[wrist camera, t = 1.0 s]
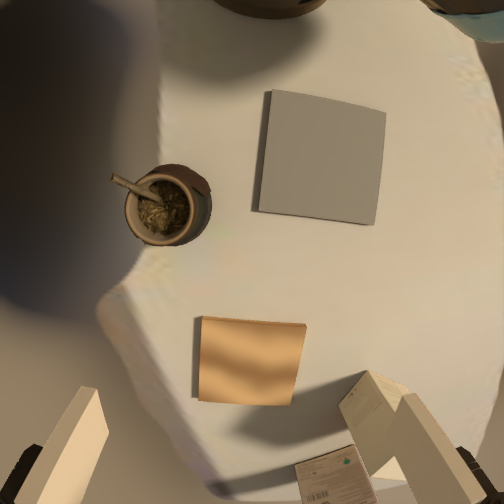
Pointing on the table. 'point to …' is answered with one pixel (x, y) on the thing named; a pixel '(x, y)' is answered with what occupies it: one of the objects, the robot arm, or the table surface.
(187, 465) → the table surface
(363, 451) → the small box
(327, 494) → the ink cartridge box
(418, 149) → the table surface
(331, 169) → the felt pad
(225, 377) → the square wooden coaster
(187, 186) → the mate gourd
